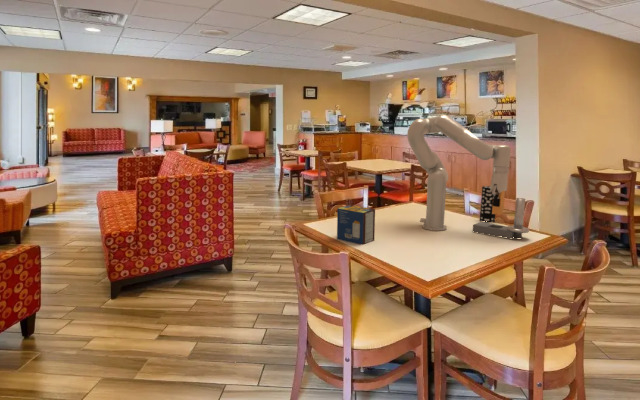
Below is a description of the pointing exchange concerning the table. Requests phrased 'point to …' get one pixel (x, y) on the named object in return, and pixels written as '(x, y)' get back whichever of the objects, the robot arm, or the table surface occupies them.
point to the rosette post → (518, 219)
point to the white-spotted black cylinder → (486, 205)
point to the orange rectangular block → (500, 209)
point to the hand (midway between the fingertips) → (498, 205)
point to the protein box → (355, 224)
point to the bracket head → (492, 229)
